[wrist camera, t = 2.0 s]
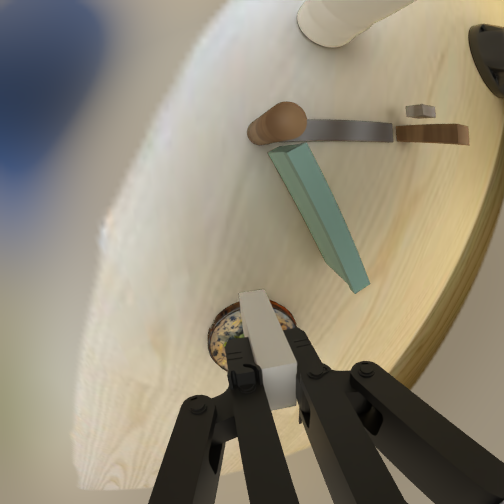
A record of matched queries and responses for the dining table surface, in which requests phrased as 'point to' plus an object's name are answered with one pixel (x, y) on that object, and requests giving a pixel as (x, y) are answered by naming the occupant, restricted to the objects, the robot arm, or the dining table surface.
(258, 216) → the dining table surface
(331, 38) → the water bottle
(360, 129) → the gate frame
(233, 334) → the burger
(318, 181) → the gate
